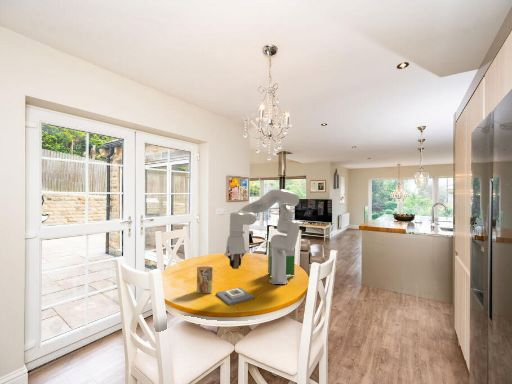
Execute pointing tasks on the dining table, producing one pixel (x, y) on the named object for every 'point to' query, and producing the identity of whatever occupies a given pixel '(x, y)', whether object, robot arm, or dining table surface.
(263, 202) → the robot arm
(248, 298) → the board
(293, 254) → the hardback book
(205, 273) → the candy box
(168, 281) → the dining table surface
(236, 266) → the walnut pin
